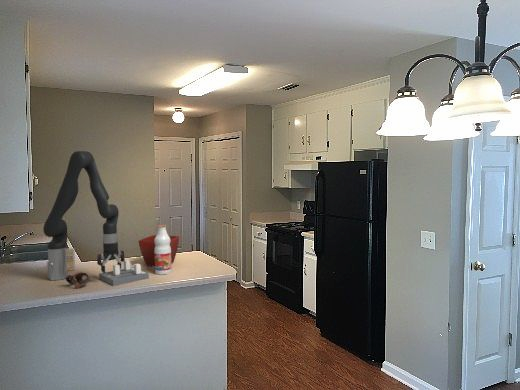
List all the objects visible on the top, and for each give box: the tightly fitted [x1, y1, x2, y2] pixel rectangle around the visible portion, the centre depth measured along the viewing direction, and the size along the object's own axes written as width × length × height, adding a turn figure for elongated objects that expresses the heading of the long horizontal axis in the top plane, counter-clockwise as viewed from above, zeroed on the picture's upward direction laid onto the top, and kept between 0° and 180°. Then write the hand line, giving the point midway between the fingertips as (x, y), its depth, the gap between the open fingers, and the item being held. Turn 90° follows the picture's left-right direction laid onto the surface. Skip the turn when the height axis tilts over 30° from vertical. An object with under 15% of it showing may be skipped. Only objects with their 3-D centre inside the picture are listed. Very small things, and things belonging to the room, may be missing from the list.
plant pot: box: [138, 234, 180, 268], centre depth 266 cm, size 19×19×17 cm
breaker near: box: [133, 263, 142, 274], centre depth 232 cm, size 2×3×5 cm
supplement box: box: [66, 247, 76, 272], centre depth 255 cm, size 8×5×13 cm, turn 105°
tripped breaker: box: [112, 264, 121, 275], centre depth 231 cm, size 2×3×5 cm
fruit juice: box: [154, 224, 173, 276], centre depth 245 cm, size 9×9×28 cm
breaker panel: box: [98, 266, 150, 287], centre depth 234 cm, size 20×19×3 cm
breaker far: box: [123, 259, 131, 270], centre depth 242 cm, size 2×3×5 cm
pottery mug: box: [65, 271, 91, 290], centre depth 220 cm, size 12×10×8 cm
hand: (111, 271), depth 229 cm, fingers open, 8 cm apart
